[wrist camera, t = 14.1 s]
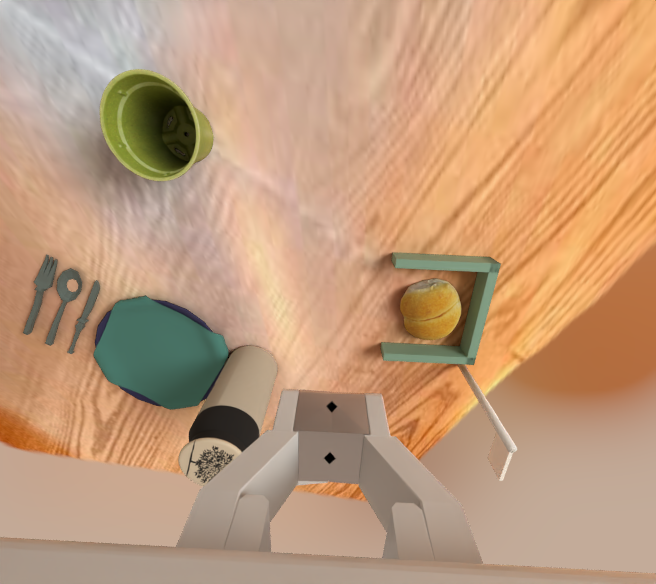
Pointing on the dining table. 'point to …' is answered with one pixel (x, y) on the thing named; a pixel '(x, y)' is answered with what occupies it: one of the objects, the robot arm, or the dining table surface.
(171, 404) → the cutlery set
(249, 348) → the travel mug
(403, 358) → the green pocket
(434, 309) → the bread roll
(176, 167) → the plant pot
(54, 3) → the dining table surface
